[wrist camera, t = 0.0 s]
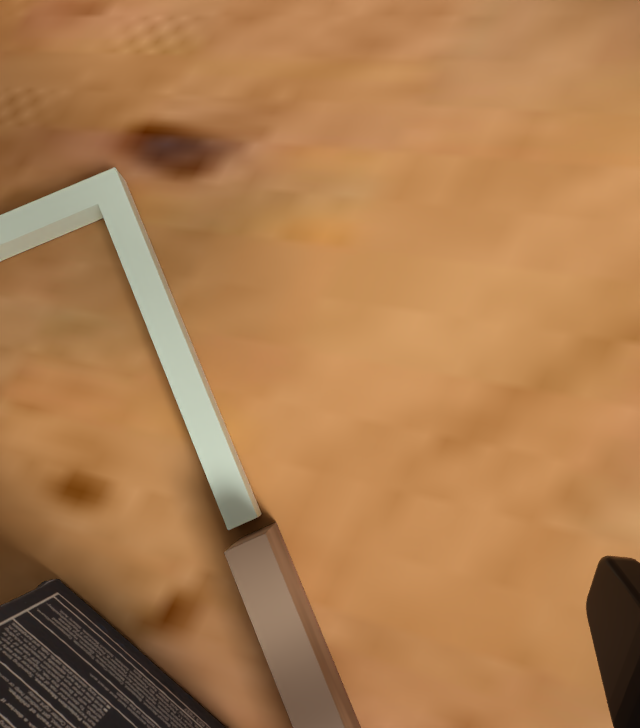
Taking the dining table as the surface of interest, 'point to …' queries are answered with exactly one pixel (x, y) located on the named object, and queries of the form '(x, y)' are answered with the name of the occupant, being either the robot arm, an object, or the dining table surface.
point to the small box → (81, 670)
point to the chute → (289, 632)
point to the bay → (160, 314)
